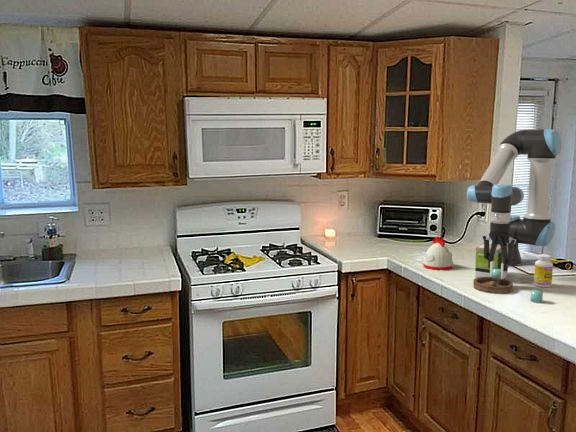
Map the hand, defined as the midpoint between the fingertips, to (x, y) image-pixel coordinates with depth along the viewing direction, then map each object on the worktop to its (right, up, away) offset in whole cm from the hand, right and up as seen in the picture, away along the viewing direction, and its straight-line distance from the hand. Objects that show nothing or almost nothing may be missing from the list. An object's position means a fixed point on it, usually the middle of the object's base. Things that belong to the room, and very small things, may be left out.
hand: (497, 277), depth 204 cm
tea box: (+3, -2, +14) cm, 15 cm away
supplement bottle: (+19, -4, 0) cm, 19 cm away
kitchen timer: (-15, +1, +33) cm, 36 cm away
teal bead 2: (+7, -7, -19) cm, 21 cm away
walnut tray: (-3, -4, -2) cm, 5 cm away
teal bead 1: (0, 0, 0) cm, 1 cm away
